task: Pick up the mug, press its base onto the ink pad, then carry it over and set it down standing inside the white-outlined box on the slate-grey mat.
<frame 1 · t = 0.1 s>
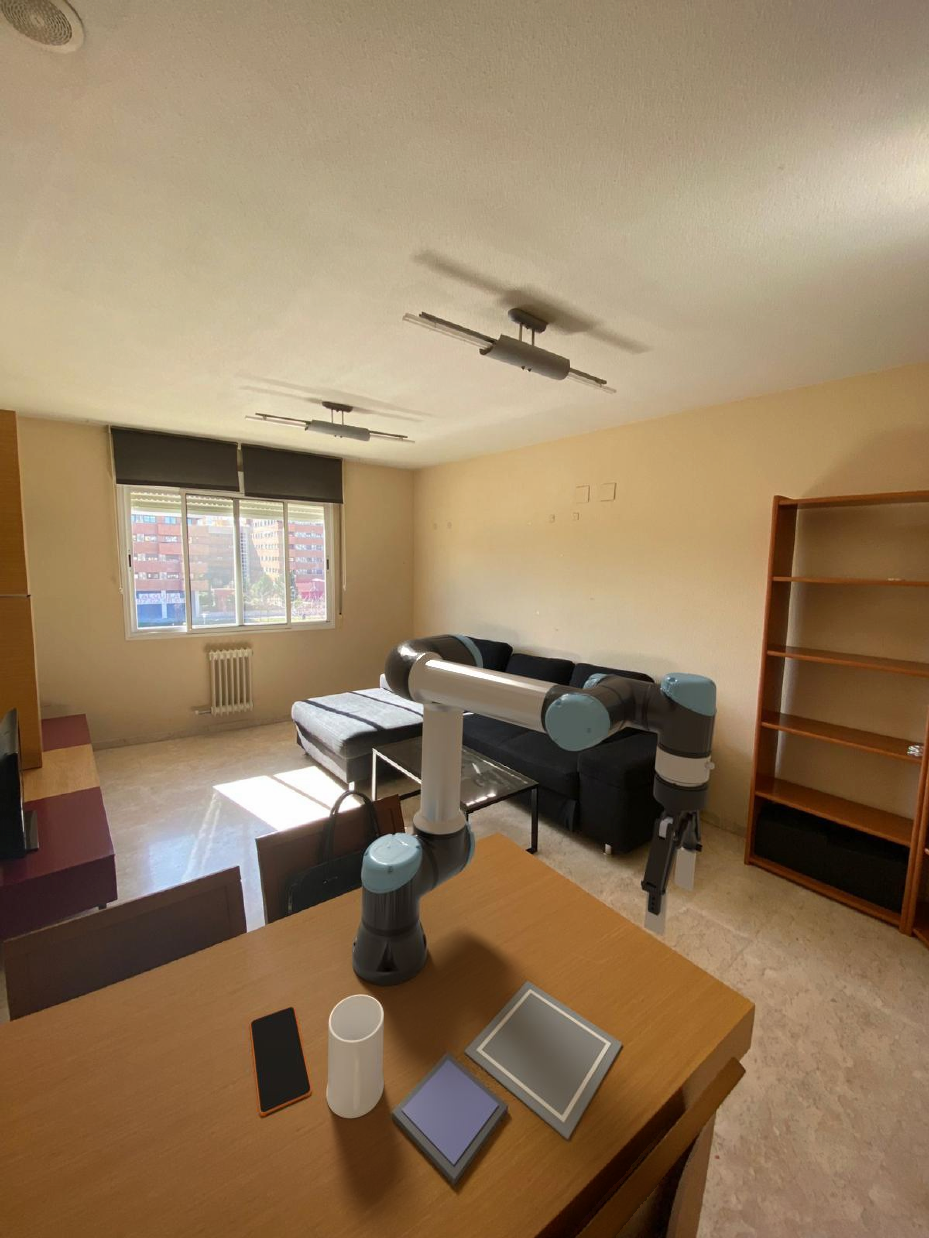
hand: (669, 907, 78), 28 cm above the table, fingers open, 13 cm apart
smartphone: (279, 1059, 81), on the table
mug: (354, 1100, 75), on the table
ink pad: (450, 1114, 73), on the table
print mat: (544, 1048, 84), on the table
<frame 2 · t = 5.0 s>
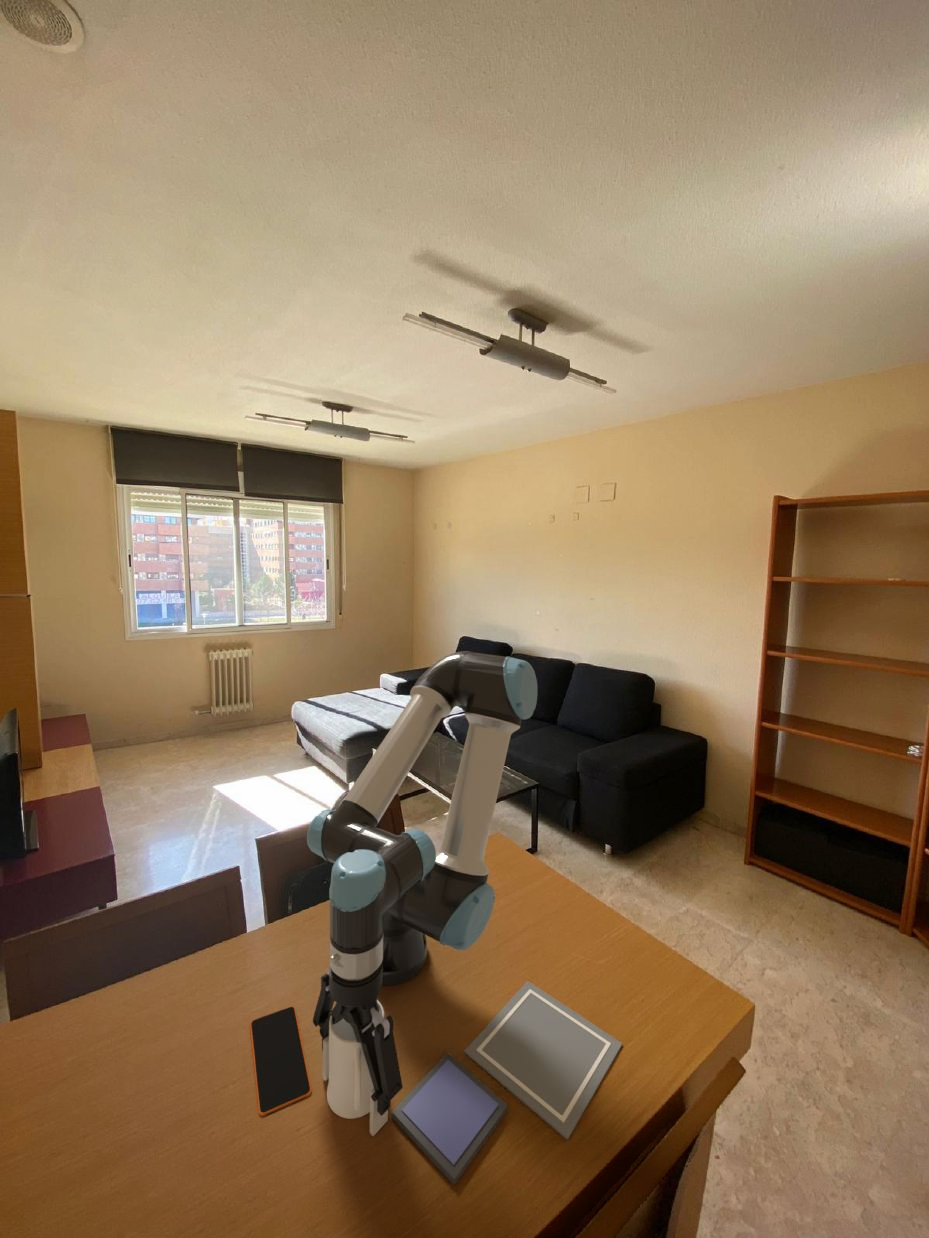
hand: (353, 1098, 75), 0 cm above the table, fingers open, 10 cm apart
mug: (355, 1101, 75), on the table, touching gripper
everything else where it was.
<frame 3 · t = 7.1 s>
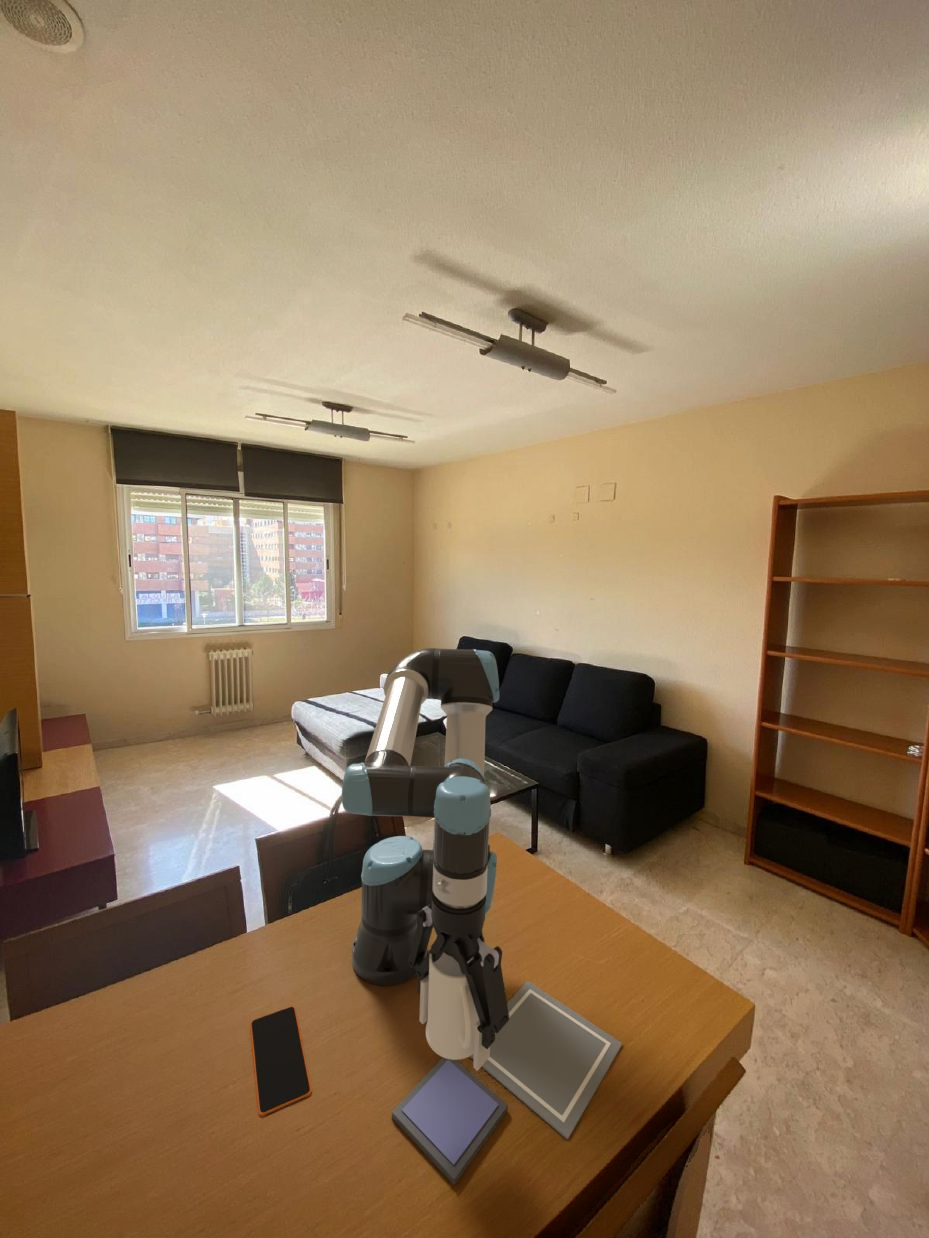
hand: (453, 1038, 72), 12 cm above the table, fingers closed on mug, 10 cm apart
mug: (456, 1043, 72), point 12 cm above the table, touching gripper
everything else where it was.
when the fingers open (2 cm above the table, at t = 8.8 s): mug stays where it is, resting on ink pad.
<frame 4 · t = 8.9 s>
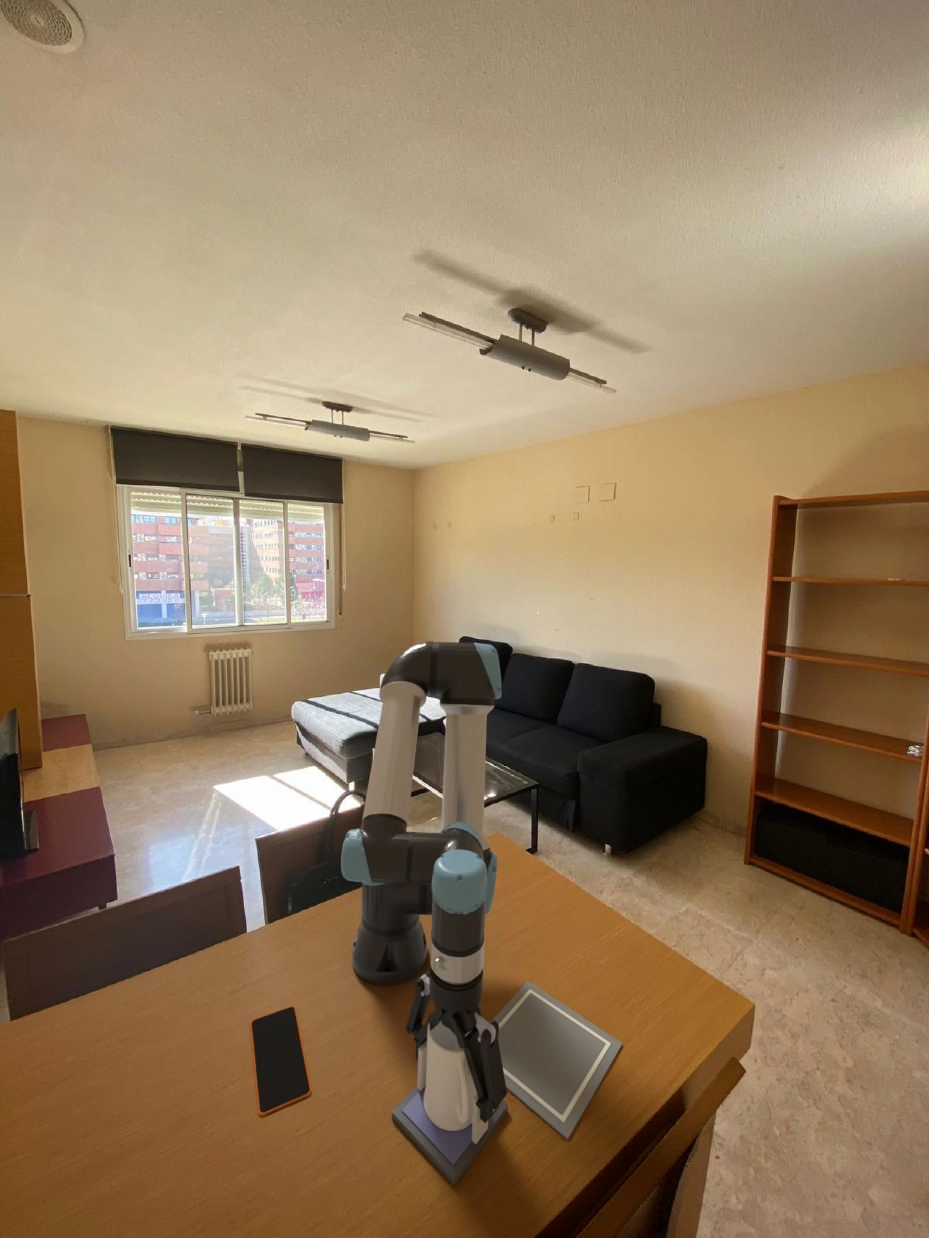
hand: (451, 1106, 73), 1 cm above the table, fingers open, 10 cm apart
mug: (453, 1112, 73), point 1 cm above the table, touching ink pad
everything else where it was.
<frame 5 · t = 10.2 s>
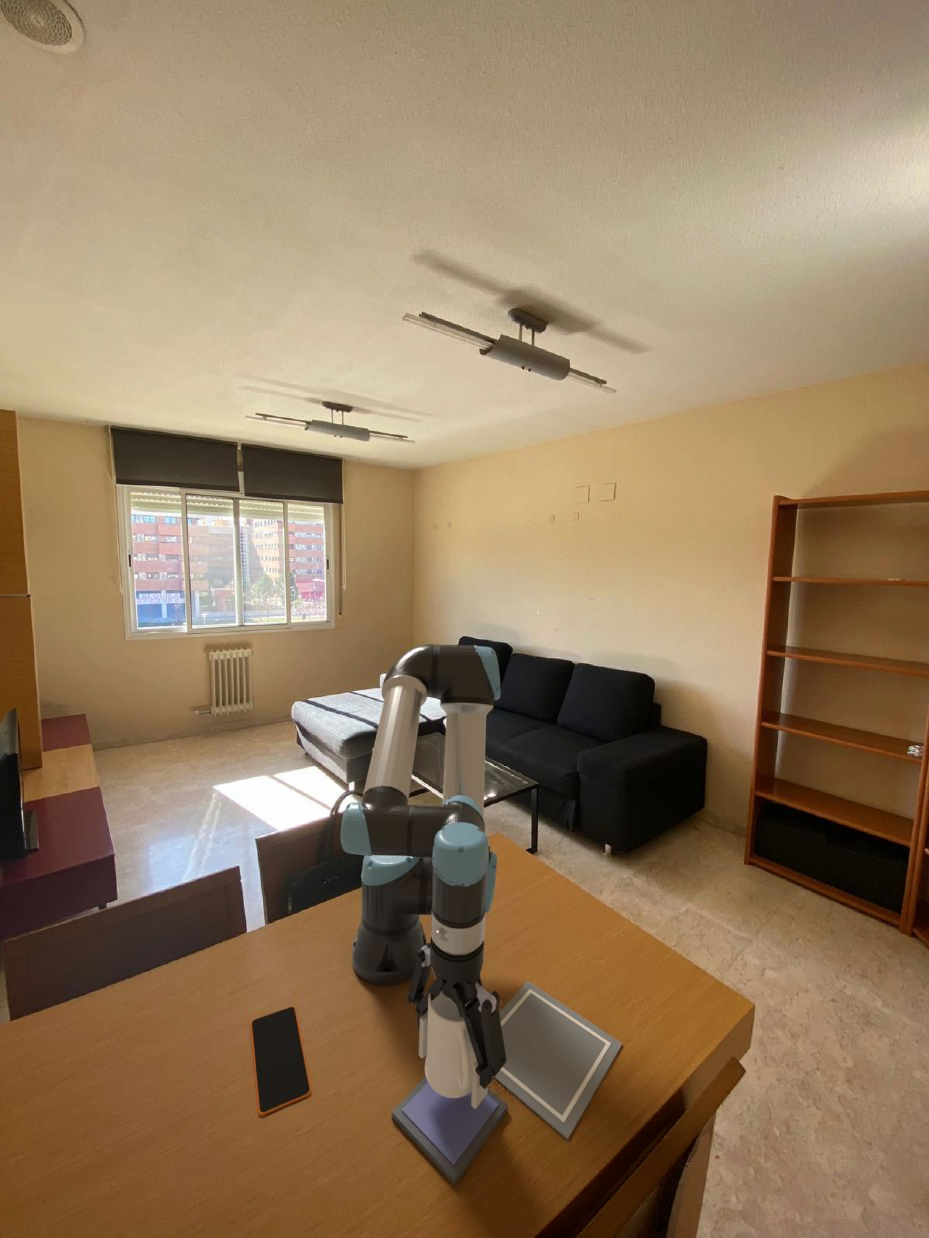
hand: (451, 1073, 74), 6 cm above the table, fingers closed on mug, 9 cm apart
mug: (454, 1080, 73), point 5 cm above the table, touching gripper
everything else where it was.
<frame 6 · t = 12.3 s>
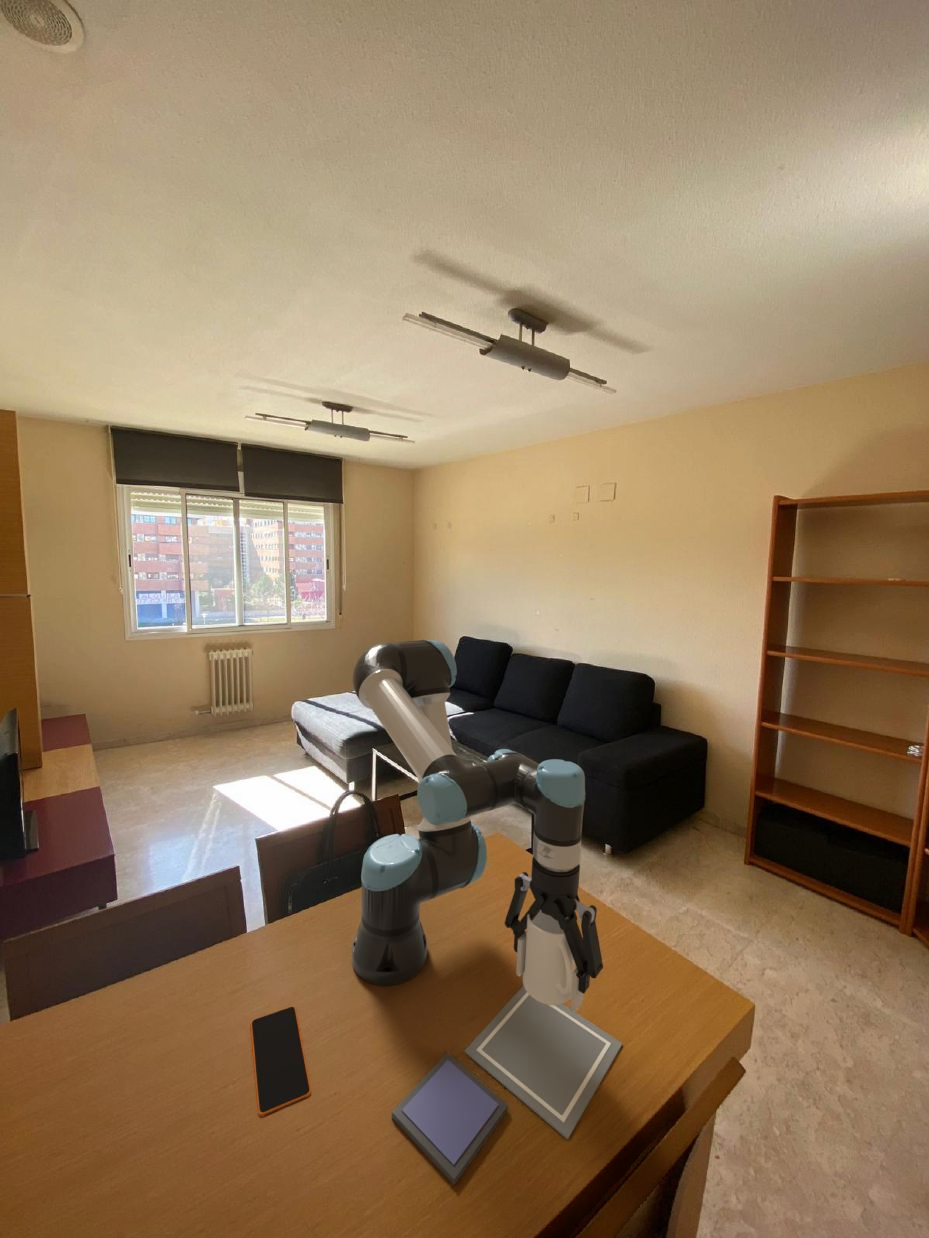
hand: (548, 987, 83), 11 cm above the table, fingers closed on mug, 9 cm apart
mug: (551, 992, 82), point 11 cm above the table, touching gripper
everything else where it was.
when the fingers open (1 cm above the table, at t = 14.4 s): mug stays where it is, resting on print mat.
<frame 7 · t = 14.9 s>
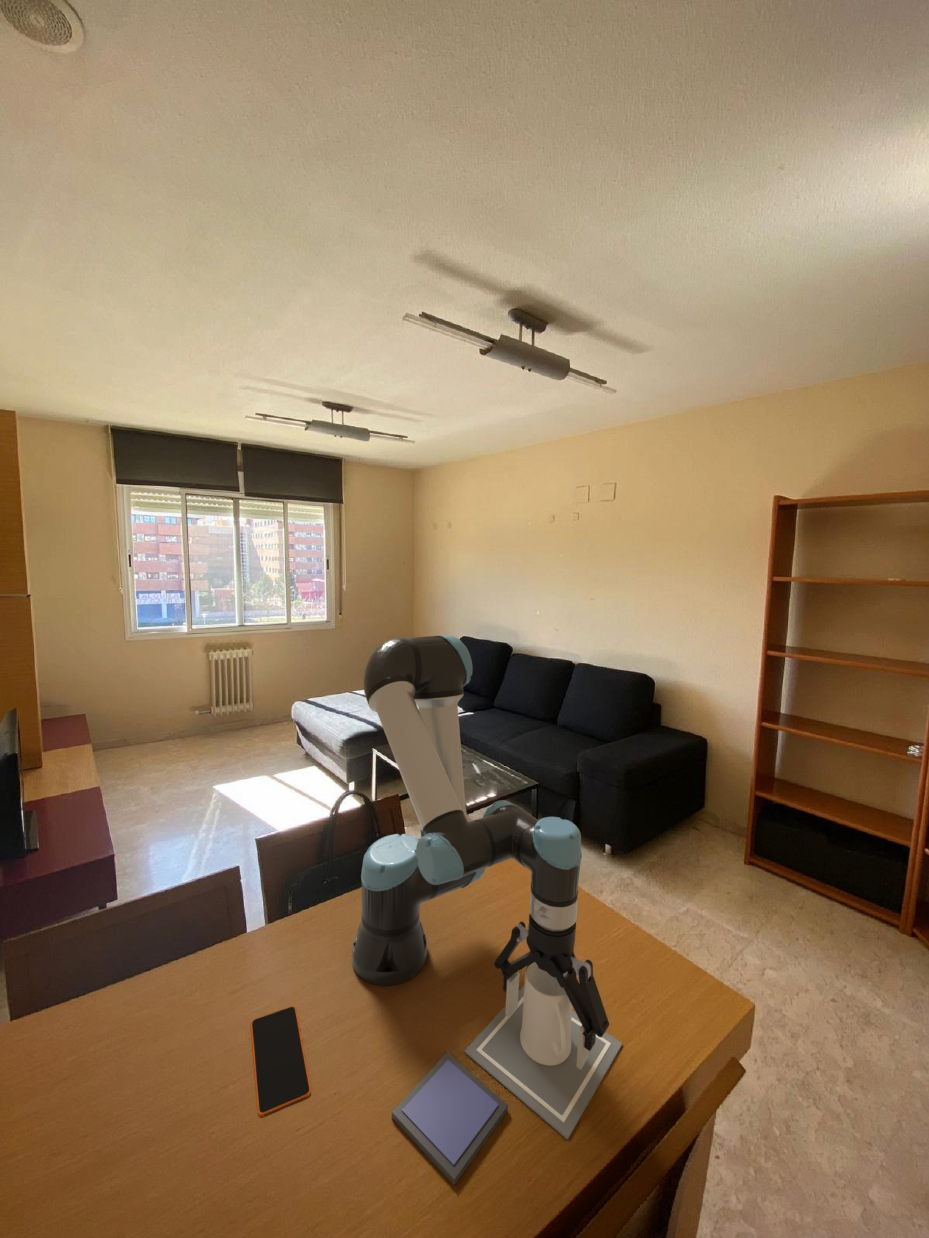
hand: (545, 1035, 84), 2 cm above the table, fingers open, 13 cm apart
mug: (547, 1051, 83), resting on print mat
everything else where it was.
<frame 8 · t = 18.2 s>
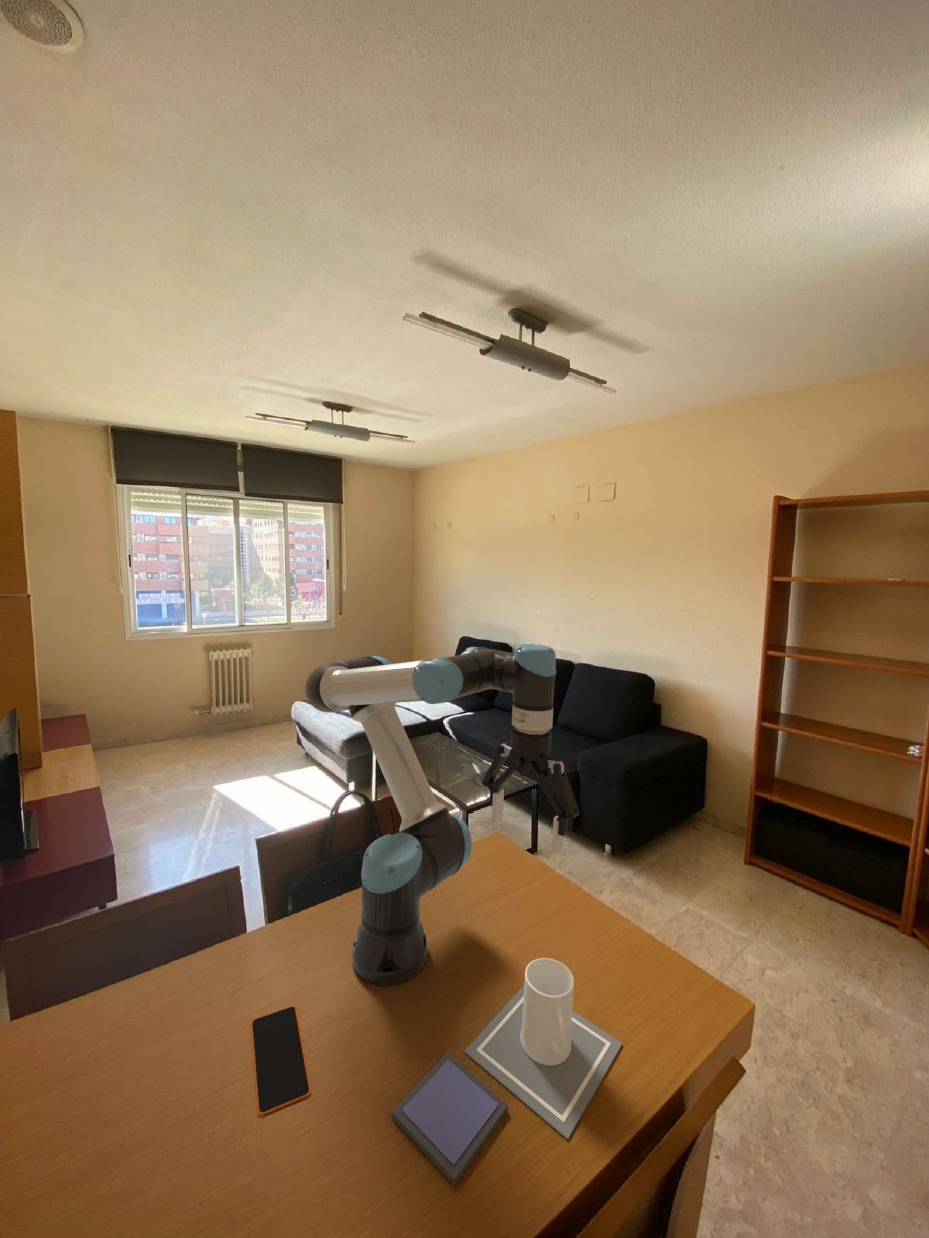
hand: (525, 835, 96), 29 cm above the table, fingers open, 13 cm apart
nothing on the table moved.
at the end: mug inside the target area on the print mat (0.7 cm from its centre), point 0.1 cm above the print mat's base; mug tilted 0°; the gripper is holding nothing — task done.
